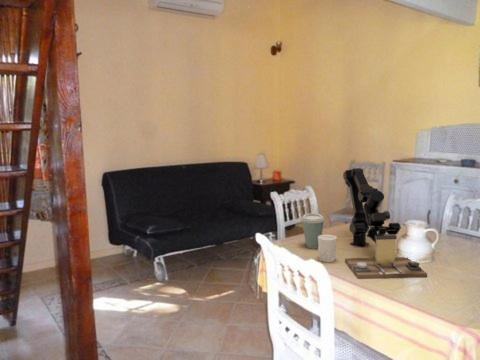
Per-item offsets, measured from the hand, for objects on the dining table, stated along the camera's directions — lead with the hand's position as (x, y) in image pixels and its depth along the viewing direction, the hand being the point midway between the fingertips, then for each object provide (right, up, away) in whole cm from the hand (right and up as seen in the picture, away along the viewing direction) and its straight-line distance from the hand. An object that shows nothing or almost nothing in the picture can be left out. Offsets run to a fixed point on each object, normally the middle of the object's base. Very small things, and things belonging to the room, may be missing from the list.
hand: (380, 247), depth 161 cm
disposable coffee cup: (-23, -4, +27) cm, 36 cm away
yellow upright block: (0, -7, -4) cm, 8 cm away
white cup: (-20, -7, +9) cm, 23 cm away
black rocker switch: (+10, -5, -7) cm, 14 cm away
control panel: (0, -8, -3) cm, 9 cm away
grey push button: (-10, -6, -7) cm, 14 cm away
